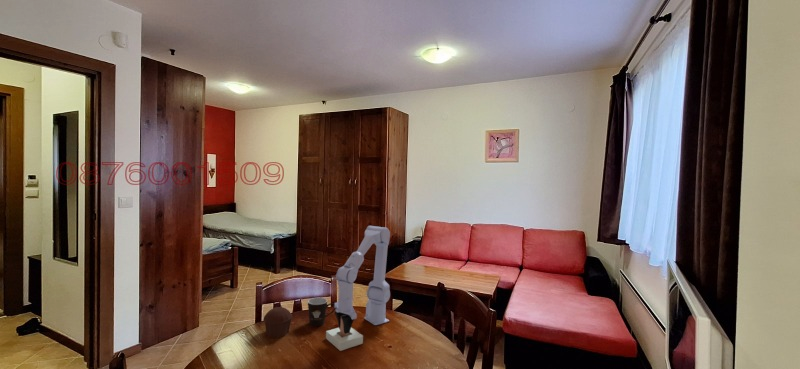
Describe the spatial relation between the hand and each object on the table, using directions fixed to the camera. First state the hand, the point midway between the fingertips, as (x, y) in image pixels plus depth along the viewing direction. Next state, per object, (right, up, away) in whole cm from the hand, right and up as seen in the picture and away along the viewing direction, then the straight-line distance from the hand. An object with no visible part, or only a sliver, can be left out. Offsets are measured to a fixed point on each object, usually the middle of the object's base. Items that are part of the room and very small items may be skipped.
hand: (344, 330), depth 130 cm
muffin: (-29, -3, +5) cm, 29 cm away
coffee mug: (-14, -4, +15) cm, 20 cm away
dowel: (0, -2, 0) cm, 2 cm away
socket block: (0, -4, 0) cm, 4 cm away
